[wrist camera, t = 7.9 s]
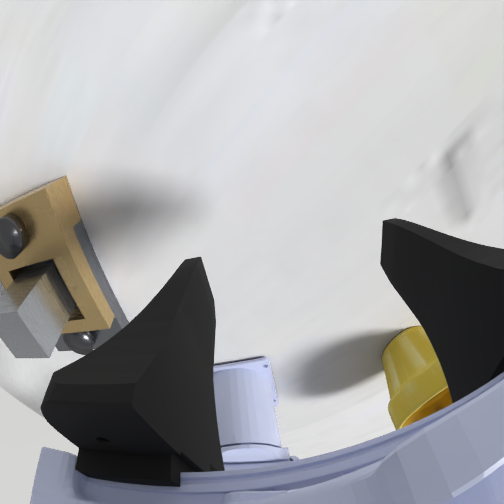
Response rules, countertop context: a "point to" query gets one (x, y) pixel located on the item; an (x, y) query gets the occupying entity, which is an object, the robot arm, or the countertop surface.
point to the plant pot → (414, 378)
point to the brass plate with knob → (60, 261)
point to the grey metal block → (35, 310)
